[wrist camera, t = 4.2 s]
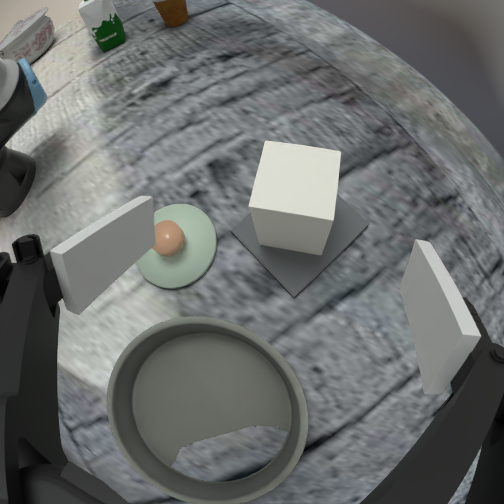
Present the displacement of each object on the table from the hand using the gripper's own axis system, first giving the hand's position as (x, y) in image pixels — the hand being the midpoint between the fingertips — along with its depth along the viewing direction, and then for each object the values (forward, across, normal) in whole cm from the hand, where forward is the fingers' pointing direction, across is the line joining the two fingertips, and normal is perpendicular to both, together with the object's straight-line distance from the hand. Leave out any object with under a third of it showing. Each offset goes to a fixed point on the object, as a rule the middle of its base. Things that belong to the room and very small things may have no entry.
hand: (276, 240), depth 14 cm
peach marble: (+20, -16, -12) cm, 28 cm away
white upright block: (+24, -1, -8) cm, 25 cm away
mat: (+24, 0, -9) cm, 26 cm away
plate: (+20, -16, -13) cm, 29 cm away
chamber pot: (+67, -111, +36) cm, 134 cm away
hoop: (+6, -6, -28) cm, 30 cm away
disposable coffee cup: (+64, -40, +31) cm, 82 cm away
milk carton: (+59, -59, +27) cm, 87 cm away
